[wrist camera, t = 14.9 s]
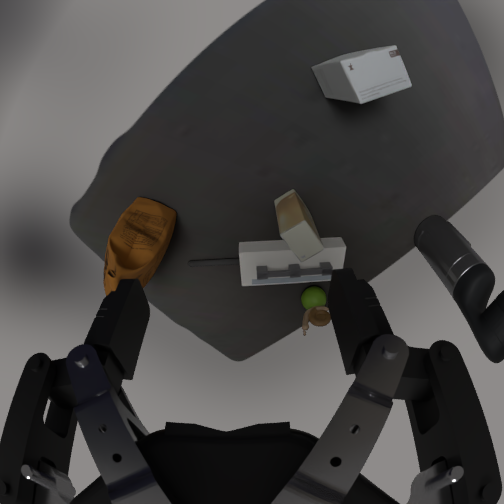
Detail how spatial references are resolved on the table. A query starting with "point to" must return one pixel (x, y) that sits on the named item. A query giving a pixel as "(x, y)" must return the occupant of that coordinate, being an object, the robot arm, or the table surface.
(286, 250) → the strip
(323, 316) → the snail figurine
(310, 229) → the skincare box
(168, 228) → the coffee package
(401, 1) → the table surface
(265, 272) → the breaker paddles
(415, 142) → the table surface
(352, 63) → the skincare box
